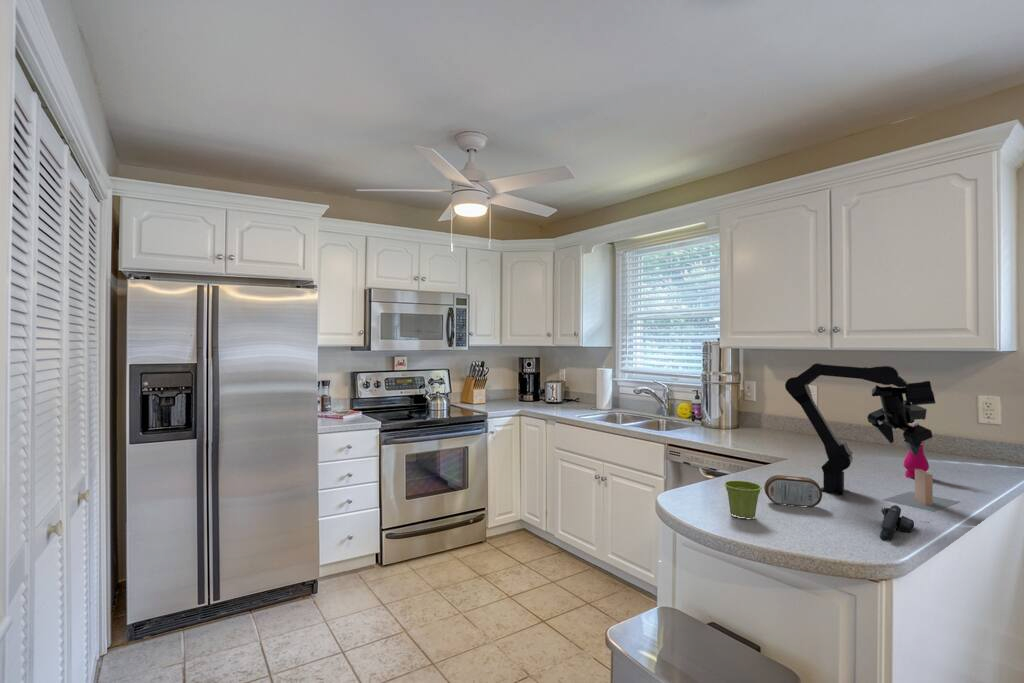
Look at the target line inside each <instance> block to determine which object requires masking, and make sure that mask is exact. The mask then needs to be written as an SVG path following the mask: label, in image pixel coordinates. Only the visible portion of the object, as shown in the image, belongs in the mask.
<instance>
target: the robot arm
mask: <svg viewBox="0 0 1024 683" xmlns="http://www.w3.org/2000/svg"><path fill="white" fill-rule="evenodd" d="M820 376H823V377H825V376H826V377H834V378H836V377H837V378H847V379H848V378H849V379H857V380H863V381H864V380H865V381H868V382H872V383H875V384H878V385H875V387H874V388H872V389H871V396H872V397H879V399H880V404H881V408H879V409H877V410H874V411H872V412H870V413H869V414H868V415H867V417H866V419H867V422H868V423H870V424H871V426H873V427H874V428H875V429H876V431H878V432H879V433H880V434H881V435H882V436H883V437H884V438H885V440H887V441H888V443H890V444H893V443H894V441H895V439H894V438H895V437H894V431H893V429H895V430H897V429H898V430H901V431H902V432H903V433H902V435H903V436H902V437H903V439H904V440H903V442H904V443H905V445H906V446H907V447H908V450H909V449H910V451H911V452H912V453H913V455H917V454H918V452H919V449H920V445H921V443H922V441H925V442H926V440H929V439H931V438H933V435H934V434H933V431H932V430H931V429H930V428H927V427H925V426H922V425H920V424H919V425H917V426H914V425H910V424H913V423H914V422H916V421H915V420H926V417H927V412H928V410H927V409H928V408H924V407H922V406H921V405H935V404H936V399H935V394H934V391H933V388H932V384H931V381H930V380H923V381H919V382H917V381H916V382H910V383H909V382H908V381H907V380H906V379H903V378H902V377H901V376H900V372H899V371H898V370H897V368H895V367H894V366H891V365H878V366H877V365H876V366H875V365H874V366H865V367H864V366H863V367H861V366H850V365H837V364H826V363H819V362H816V363H814V364H812V365H810V367H809V368H808V369H806V370H805V371H803V372H802V373H800V374H799V375H797V376H793V377H790V378H789V379H787V380H786V381H785V384H784V387H785V390H786V391H787V393H788V394H789V395H790V396H791V397H792V398H793V399H794V400H795V401H796V402H797V403H798V404H799V405H800V406H801V409H802V410H803V412H804V413H805V415H806V416H807V419H808V420H809V422H810V423H811V425H812V427H813V428H814V430H815V432H816V434H817V435H818V436H819V437H818V438H820V441H821V442H822V444H823V446H824V449H825V453H826V456H827V461H826V462H824V464H823V465H821V470H822V473H823V476H822V478H823V487H820V488H821V490H822V492H826V493H830V494H835V495H843V494H844V493H846V492H850V490H849V489H845V472H844V471H845V470H847V469H848V468H849V467H850V466H851V465H852V463H853V454H854V453H853V451H851V450H850V448H849V446H848V443H847V442H846V441H844V442H842V443H841V441H840V440H839V439H838V438H837V436H835V434H834V433H833V430H832V429H831V427H830V425H829V424H828V423H827V420H826V419H825V417H824V415H823V414H822V412H821V411H820V409H819V408H818V405H817V404H816V403H815V400H814V399H813V395H812V392H811V388H810V384H811V383H812V382H814V381H815V380H816V379H818V378H819V377H820ZM879 384H880V385H883V386H879ZM892 385H893V386H895V387H893V386H892ZM904 396H905V399H904ZM912 426H914V427H912Z"/></svg>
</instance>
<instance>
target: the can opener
mask: <svg viewBox="0 0 1024 683" xmlns="http://www.w3.org/2000/svg"><path fill="white" fill-rule="evenodd" d="M880 512H881V513H882V515H883V520H882V521H881V531H880V534H879V537H880V539H881V540H882V539H883V540H882V541H885V540H890V539H891V540H892V538H893V537H894V535H895V532H896V529H897V528H898V530H899V531H901V532H902V531H903V532H906V533H911V532H912V531H913V530H914V528H915V521H914V520H913V519H912V518H909V517H907V516H905V515H902V516H901V512H902V508H901V507H899V505H897V504H895V505H891V506H890V507H887V508H885V507H881V510H880ZM891 540H890V541H891Z"/></svg>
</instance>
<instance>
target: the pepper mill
mask: <svg viewBox="0 0 1024 683" xmlns="http://www.w3.org/2000/svg"><path fill="white" fill-rule="evenodd" d="M917 425H920V423H919V422H918V421H915V422H913V423H912V425H911V426H912V427H914V426H917ZM925 442H926V440H925V441H922V443H921V445H920V449H919V452H918V454H917V455H913V453H912V452H911V451H910V449H909V448H908V452H907V454H906V456H905V458H904V460H903V467H904V468H905V469H906V470H905V471H904V472H905V474H904V476H905V477H906V476H907V477H906V478H908V477H910V478H909V479H912V478H915V469H921V470H923V471H925V472H927V471H929V469H930V466H929V465H930V464H929V461H928V459H927V457H926V455H925V453H924V445H926V443H925Z"/></svg>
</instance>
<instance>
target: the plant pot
mask: <svg viewBox="0 0 1024 683" xmlns="http://www.w3.org/2000/svg"><path fill="white" fill-rule="evenodd" d="M724 486H725V487H726V491H727V498H728V504H729V512H730V513H731V514H733V515H736V516H739V517H745V518H753V517H755V518H756V512H757V507H758V506H757V505H758V501H759V500H758V498H759V495H760V493H761V490H762V489H763V488H762V486H761V485H760V484H758V483H755V482H752V481H744V480H728V481H725V482H724ZM731 514H730V515H731Z"/></svg>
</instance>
